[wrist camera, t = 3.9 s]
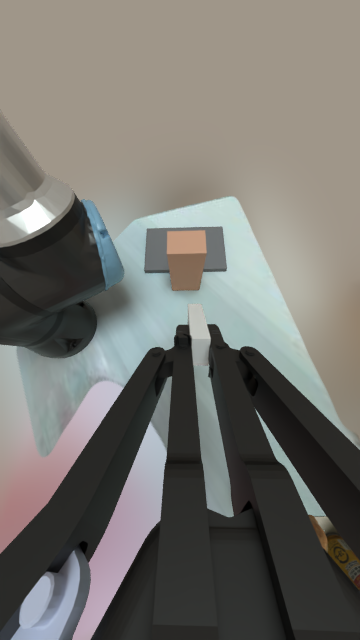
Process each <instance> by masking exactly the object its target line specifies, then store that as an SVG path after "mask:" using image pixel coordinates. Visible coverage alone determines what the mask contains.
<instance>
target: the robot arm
mask: <svg viewBox="0 0 360 640" xmlns="http://www.w3.org/2000/svg"><path fill="white" fill-rule="evenodd" d="M123 277H124V269H123V266H122V263H121V261H120V258H119V256H118V253H117V251H116V249H115V246H114V244H113V242H112V240H111V238H110V236H109V234H108V231H107V229H106V227H105V224H104V222H103V220H102V218H101V216H100V214H99V212H98V210H97V208H96V206H95V204H94V203H93V202H92V201H91V200H84V199H83V200H81V202H80V201H79V199H78V198H77V196H76V195H75V193H74V191H73V190H72V188H71V187H70V186H69V185H68V184H66V183H64V182H63V181H60V180H58V179H56V178H54V177H52V176H50V175H47V174H46V173H45V172H44V171H43V170H42V168H41V167H40V165H39V164H38V163H37V161H36V160H35V159H34V157H33V156H32V154H31V153H30V152H29V150H28V149H27V147H26V146H25V144H24V143H23V142H22V140H21V139H20V137H19V136H18V135H17V133H16V132H15V130H14V129H13V127H12V126H11V125H10V123H9V122H8V121H7V119H6V118H5V116H4V115H3V114H2V112H1V111H0V344H1V345H12V346H22V347H26V348H28V349H30V350H32V351H34V352H36V353H38V354H40V355H42V356H45V357H51V358H65V357H69V356H72V355H75V354H77V353H78V352H80V351H81V350H82V349H84V348H85V347H86V346H87V345H88V344H89V342H90V341H91V339H92V338H93V336H94V333H95V330H96V325H97V320H96V315H95V312H94V310H93V309H92V307H91V306H90V305H89V304H88V303H86V302H84V301H83V300H86V299H88V298H90V297H92V296H94V295H96V294H98V293H100V292H102V291H104V290H105V291H106V290H108V289H109V287H111V286H113V285H114V284H116V283H118V282H120V281H121V280H122V279H123ZM208 362H209V375H208V377H210V378H211V383H212V389H213V394H214V399H215V404H216V410H217V415H218V420H219V425H220V430H221V436H222V441H223V446H224V451H225V457H226V462H227V467H228V472H229V477H230V484H231V499H232V506H233V512H234V516H233V517H226V516H223V515H221V514H219V513H216V512H214V511H212V510H209V509H207V503H206V492H205V481H204V471H203V464H202V460H201V451H200V439H199V428H198V416H197V404H196V392H195V380H194V368H193V366H208ZM170 376H172V390H171V404H170V418H169V433H168V447H167V459H166V463H165V470H164V482H163V483H164V484H163V496H162V510H161V521H160V522H158V523H157V524H156V526H155V527H154V528H153V529H152V530H151V532H150V533H149V534H148V536H147V538H146V539H145V541H144V543H143V544H142V546H141V548H140V550H139V551H138V553H137V555H136V557H135V559H134V561H133V563H132V565H131V566H130V568H129V570H128V572H127V574H126V575H125V577H124V579H123V581H122V583H121V585H120V587H119V589H118V590H117V592H116V594H115V596H114V598H113V600H112V601H111V603H110V605H109V607H108V609H107V611H106V612H105V614H104V616H103V618H102V620H101V622H100V624H99V626H98V627H97V629H96V631H95V633H94V635H93V636H92V638H91V640H360V590H359V589H358V588H357V587H356V586H355V584H354V583H353V582H352V581H351V580H350V579H349V577H348V576H347V575H346V574H345V573H344V572H343V570H342V569H341V568H340V567H339V566H338V565H337V563H336V562H335V561H334V560H333V559H332V557H331V556H330V555H329V554H328V553H327V552H326V550H325V549H324V548H323V547H322V545H321V543H320V541H319V538H318V536H317V534H316V532H315V529H314V527H313V525H312V523H311V520H310V518H309V516H308V514H307V512H306V509H305V507H304V505H303V503H302V500H301V498H300V496H299V494H298V491H297V489H296V487H295V485H294V482H293V480H292V478H291V476H290V474H289V472H288V471H287V469H286V468H285V467H284V465H282V464H281V463H279V462H278V461H277V459H276V458H275V456H274V454H273V451H272V449H271V446H270V444H269V442H268V439H267V437H266V434H265V432H264V430H263V427H262V425H261V422H260V420H259V417H258V415H257V413H256V410H257V412H258V413H259V415H260V416H261V418H262V419H263V421H264V422H265V424H266V425H267V427H268V428H269V430H270V431H271V433H272V434H273V436H274V437H275V439H276V440H277V442H278V443H279V445H280V446H281V448H282V449H283V451H284V452H285V454H286V455H287V457H288V458H289V460H290V461H291V463H292V464H293V466H294V467H295V469H296V470H297V472H298V473H299V475H300V476H301V478H302V480H303V481H304V483H305V484H306V486H307V487H308V489H309V490H310V492H311V493H312V495H313V496H314V498H315V499H316V501H317V502H318V504H319V505H320V507H321V508H322V510H323V511H324V513H325V514H326V516H327V517H328V519H329V520H330V521H331V523H332V524H333V526H334V527H335V529H336V530H337V531H338V533H339V534H340V536H341V537H342V539H343V540H344V541H345V542H346V544H347V545H348V546H349V548H350V549H351V550H352V551H353V553H354V554H355V555H356V557H357V558H358V559H359V560H360V450H359V449H358V448H357V447H356V446H355V445H354V444H353V443H352V442H351V441H350V440H349V439H348V438H347V437H346V436H345V435H344V434H343V433H342V432H341V431H340V430H339V429H338V428H337V427H335V426H334V425H333V424H332V423H331V422H330V421H329V420H328V419H327V418H326V417H325V416H324V415H323V414H322V413H321V412H320V411H319V410H318V409H317V408H316V407H315V406H314V405H313V404H312V403H311V402H310V401H309V400H308V399H307V398H306V397H305V396H304V395H303V394H302V393H301V392H300V391H299V390H298V389H297V388H296V387H295V386H294V385H292V384H291V383H290V382H289V381H288V380H287V379H286V378H285V377H284V376H283V375H282V374H281V373H280V372H279V371H278V370H277V369H276V368H275V367H274V366H273V365H272V364H271V363H270V362H269V361H268V360H267V359H266V358H265V357H264V356H263V355H262V354H261V353H260V352H259V351H258V350H256V349H255V348H252V347H248V346H245V347H242V348H241V349H240V350H235V349H232V348H230V347H229V346H228V344H227V343H225V342H224V340H223V337H222V335H221V332H220V330H219V327H218V326H217V325H215V324H207V323H206V319H205V315H204V312H203V308H202V304H188V325H178V326H177V328H176V335H175V337H174V347H173V348H172V349H169V350H166V351H165V350H164V349H163V348H160V347H155V348H152V349H150V350H149V351H148V352H147V354H146V355H145V357H144V358H143V360H142V361H141V363H140V364H139V366H138V367H137V369H136V370H135V372H134V373H133V375H132V377H131V378H130V380H129V381H128V383H127V384H126V386H125V387H124V389H123V390H122V392H121V393H120V395H119V396H118V398H117V400H116V401H115V402H114V404H113V405H112V407H111V408H110V410H109V411H108V413H107V414H106V416H105V417H104V419H103V420H102V422H101V424H100V425H99V427H98V428H97V430H96V431H95V433H94V434H93V436H92V437H91V439H90V440H89V442H88V443H87V445H86V446H85V448H84V449H83V451H82V452H81V454H80V455H79V457H78V458H77V460H76V462H75V463H74V465H73V466H72V467H71V469H70V471H69V472H68V474H67V475H66V477H65V478H64V480H63V481H62V483H61V484H60V486H59V487H58V489H57V490H56V492H55V493H54V495H53V496H52V498H51V499H50V501H49V502H48V504H47V505H46V506H45V507H44V508H43V509H42V510H41V511H40V512H39V513H38V514H37V516H35V517H34V519H33V520H32V521H31V522H30V523H29V524H28V525H27V526H26V527H25V528H24V529H23V530H22V532H21V533H20V534H19V535H18V536H17V537H16V538H15V539H14V540H13V541H12V542H11V543H10V544H9V545H8V546H7V548H6V549H5V550H4V551H3V552H2V553H1V554H0V640H72V637H73V634H74V632H75V630H76V627H77V625H78V622H79V620H80V617H81V615H82V613H83V610H84V608H85V605H86V601H87V598H88V594H89V589H90V581H91V579H90V568H89V564H88V563H89V561H90V559H91V558H92V556H93V554H94V552H95V550H96V548H97V546H98V544H99V543H100V540H101V539H102V537H103V535H104V533H105V530H106V528H107V526H108V524H109V521H110V519H111V517H112V515H113V512H114V510H115V507H116V505H117V502H118V500H119V497H120V495H121V492H122V490H123V487H124V485H125V482H126V480H127V477H128V475H129V472H130V470H131V467H132V465H133V462H134V460H135V457H136V455H137V452H138V450H139V448H140V445H141V443H142V440H143V438H144V435H145V433H146V430H147V427H148V425H149V423H150V420H151V418H152V415H153V413H154V410H155V408H156V405H157V403H158V400H159V398H160V395H161V393H162V390H163V388H164V385H165V383H166V380H167V377H170ZM254 407H255V408H254ZM255 409H256V410H255Z"/></svg>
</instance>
